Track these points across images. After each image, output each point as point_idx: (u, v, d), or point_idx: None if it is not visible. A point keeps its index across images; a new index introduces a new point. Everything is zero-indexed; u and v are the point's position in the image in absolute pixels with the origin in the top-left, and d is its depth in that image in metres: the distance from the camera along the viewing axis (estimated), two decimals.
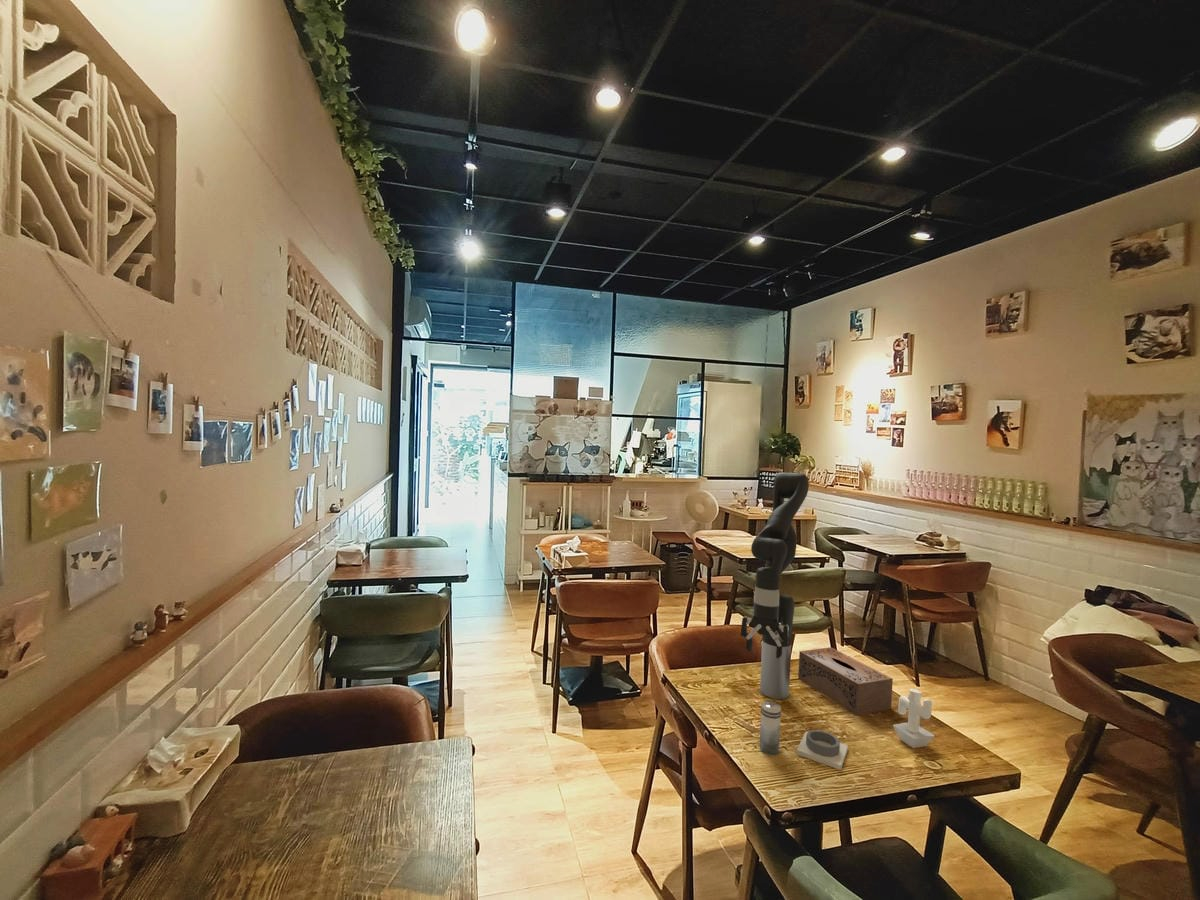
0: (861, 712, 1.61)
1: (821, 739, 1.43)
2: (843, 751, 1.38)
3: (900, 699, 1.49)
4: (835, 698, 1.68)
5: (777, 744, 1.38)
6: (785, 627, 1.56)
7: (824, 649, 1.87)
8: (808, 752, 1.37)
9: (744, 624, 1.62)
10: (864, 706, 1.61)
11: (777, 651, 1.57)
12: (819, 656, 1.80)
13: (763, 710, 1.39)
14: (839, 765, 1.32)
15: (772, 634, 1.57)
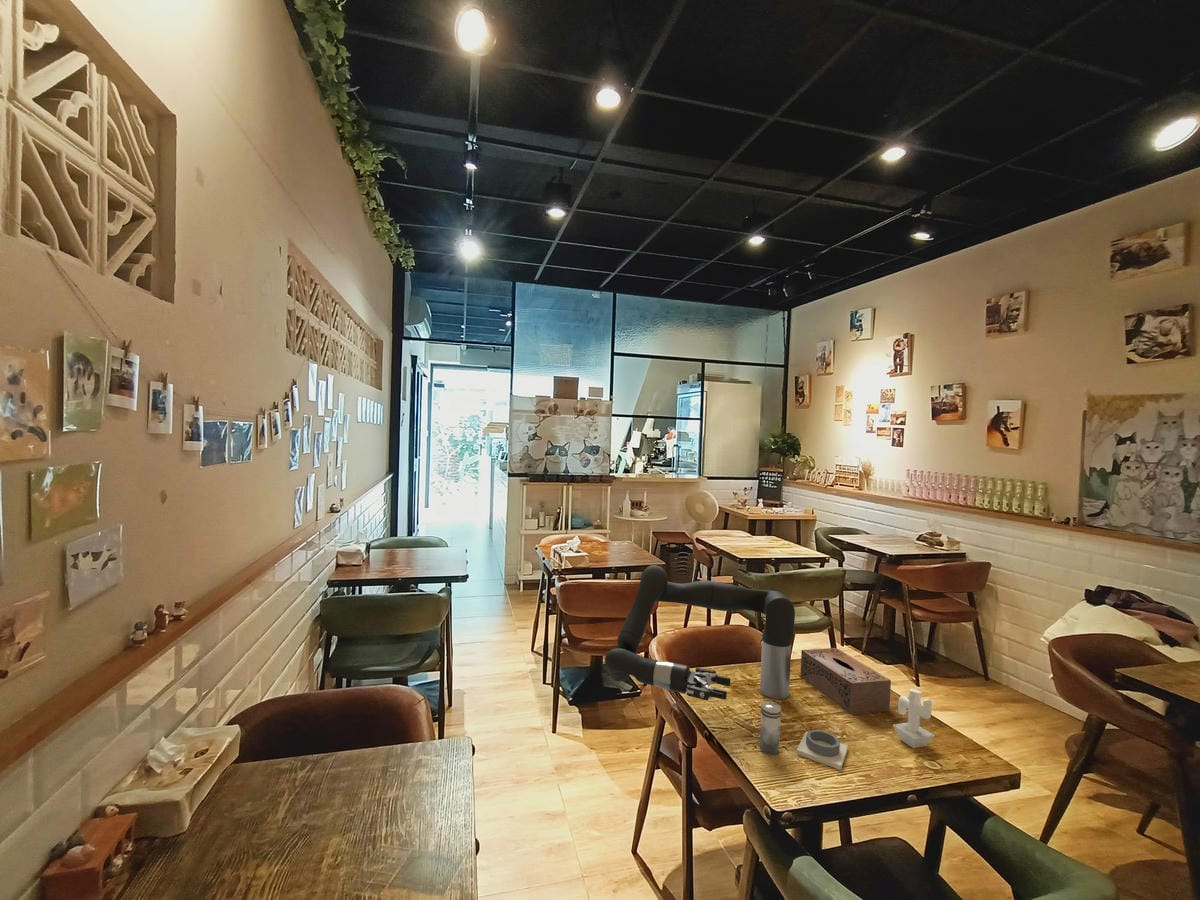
0: (855, 711, 1.61)
1: (821, 739, 1.43)
2: (843, 751, 1.38)
3: (900, 699, 1.49)
4: (832, 697, 1.69)
5: (777, 744, 1.38)
6: (697, 668, 1.53)
7: (828, 649, 1.87)
8: (808, 752, 1.37)
9: (695, 687, 1.41)
10: (858, 706, 1.61)
11: (722, 676, 1.48)
12: (820, 655, 1.81)
13: (763, 710, 1.39)
14: (839, 765, 1.32)
15: (704, 673, 1.48)
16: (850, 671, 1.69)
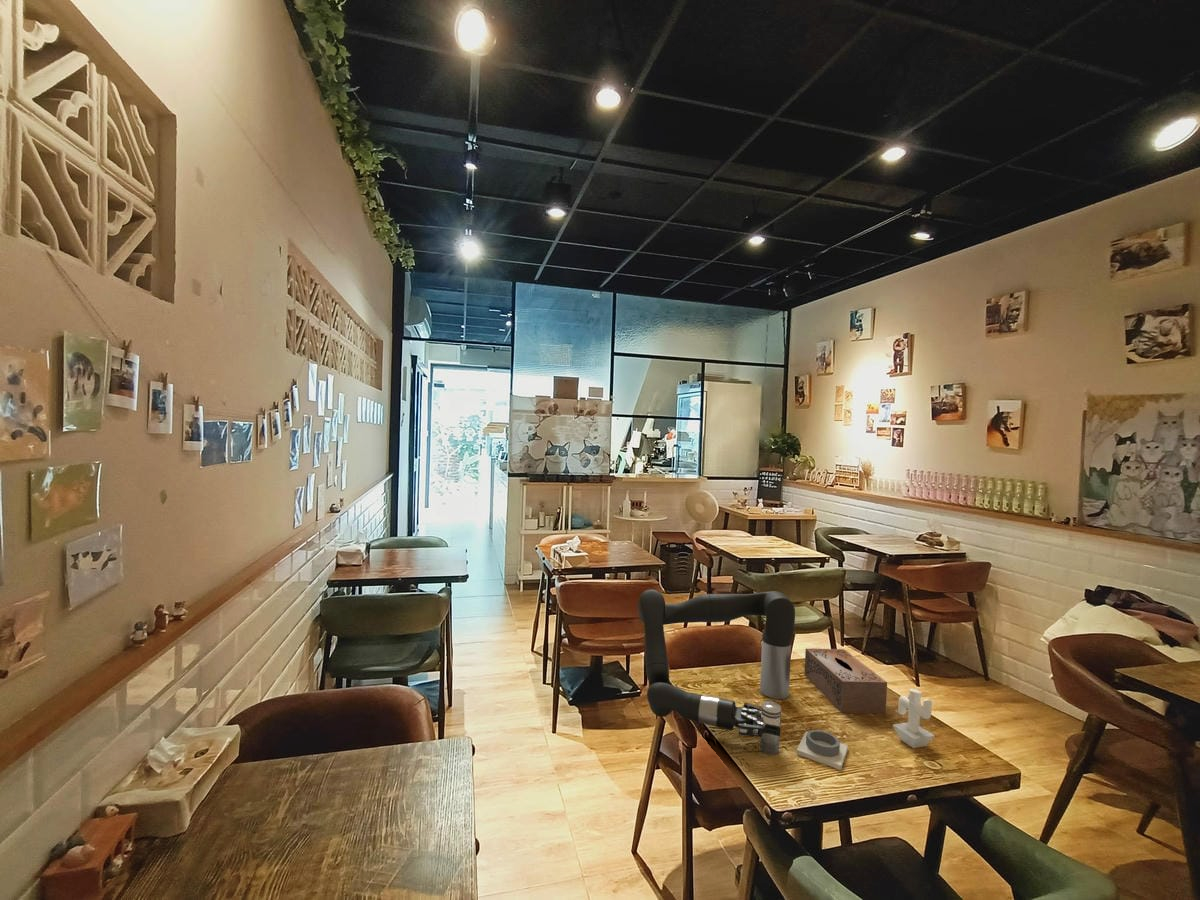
0: (847, 710, 1.61)
1: (821, 739, 1.43)
2: (843, 751, 1.38)
3: (900, 699, 1.49)
4: (827, 695, 1.70)
5: (777, 744, 1.38)
6: (745, 703, 1.48)
7: (834, 650, 1.86)
8: (808, 752, 1.37)
9: (747, 725, 1.36)
10: (850, 705, 1.61)
11: None
12: (823, 655, 1.81)
13: (763, 710, 1.39)
14: (839, 765, 1.32)
15: (752, 710, 1.43)
16: (847, 671, 1.69)
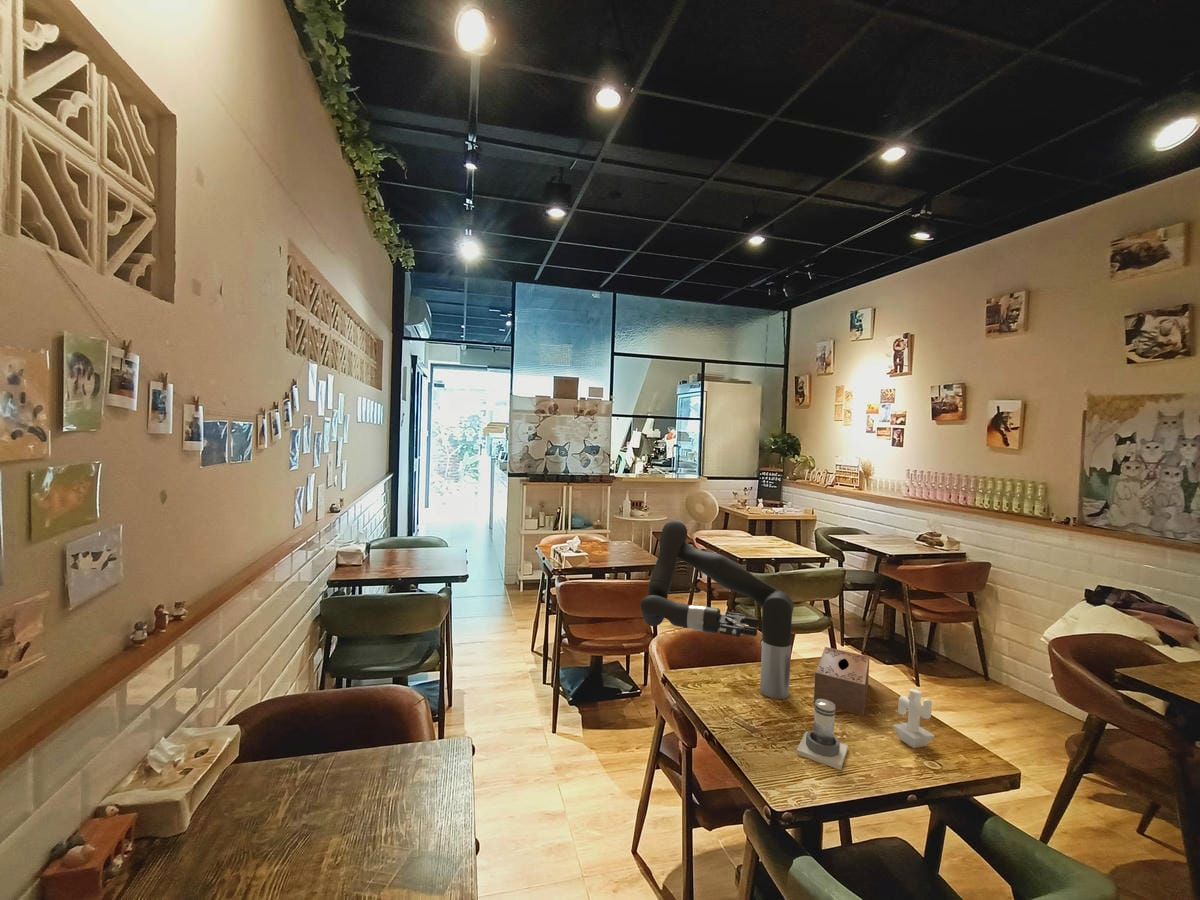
0: None
1: None
2: (843, 751, 1.38)
3: (900, 699, 1.49)
4: None
5: (831, 742, 1.38)
6: (726, 612, 1.63)
7: (856, 654, 1.83)
8: (808, 752, 1.37)
9: (727, 625, 1.51)
10: (823, 698, 1.66)
11: (751, 618, 1.59)
12: (834, 654, 1.82)
13: (818, 708, 1.38)
14: (839, 765, 1.32)
15: (734, 615, 1.59)
16: (836, 668, 1.70)
